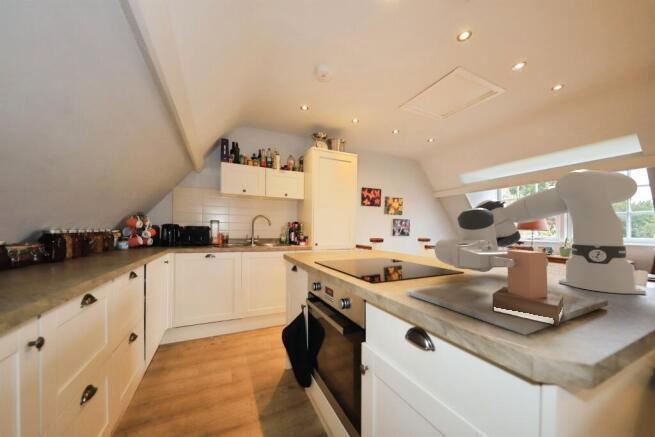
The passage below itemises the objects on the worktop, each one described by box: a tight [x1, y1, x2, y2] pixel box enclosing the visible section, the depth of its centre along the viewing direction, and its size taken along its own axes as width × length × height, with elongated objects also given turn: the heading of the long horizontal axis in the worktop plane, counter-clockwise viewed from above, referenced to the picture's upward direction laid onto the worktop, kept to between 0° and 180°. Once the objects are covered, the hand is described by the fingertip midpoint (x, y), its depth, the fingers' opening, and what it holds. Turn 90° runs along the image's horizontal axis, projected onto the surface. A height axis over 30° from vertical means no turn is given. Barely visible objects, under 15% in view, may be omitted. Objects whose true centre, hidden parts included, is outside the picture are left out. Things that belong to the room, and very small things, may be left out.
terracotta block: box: [507, 249, 548, 299], centre depth 56 cm, size 5×5×10 cm
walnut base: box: [492, 286, 564, 327], centre depth 55 cm, size 11×11×4 cm
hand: (530, 262), depth 55 cm, fingers open, 8 cm apart
